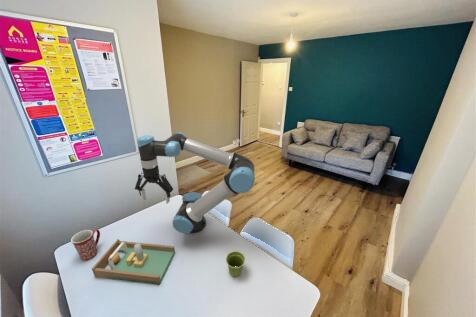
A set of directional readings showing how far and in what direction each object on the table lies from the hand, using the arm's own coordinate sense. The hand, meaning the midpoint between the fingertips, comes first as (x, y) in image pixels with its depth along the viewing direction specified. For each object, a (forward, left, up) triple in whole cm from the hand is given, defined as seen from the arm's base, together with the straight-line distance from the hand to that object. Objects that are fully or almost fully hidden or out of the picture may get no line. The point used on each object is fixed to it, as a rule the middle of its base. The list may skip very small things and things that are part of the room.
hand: (156, 201), depth 106 cm
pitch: (+13, +14, -27) cm, 33 cm away
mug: (+36, -3, -27) cm, 45 cm away
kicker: (+12, +14, -24) cm, 31 cm away
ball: (+24, +8, -24) cm, 35 cm away
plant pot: (-33, +36, -27) cm, 56 cm away
